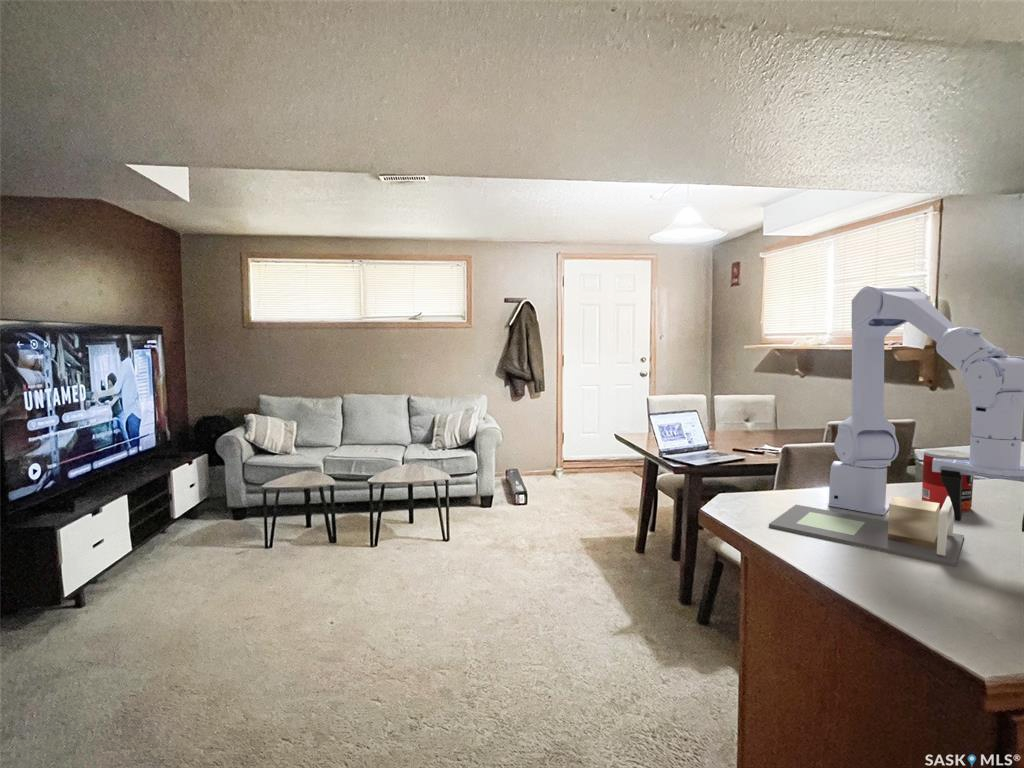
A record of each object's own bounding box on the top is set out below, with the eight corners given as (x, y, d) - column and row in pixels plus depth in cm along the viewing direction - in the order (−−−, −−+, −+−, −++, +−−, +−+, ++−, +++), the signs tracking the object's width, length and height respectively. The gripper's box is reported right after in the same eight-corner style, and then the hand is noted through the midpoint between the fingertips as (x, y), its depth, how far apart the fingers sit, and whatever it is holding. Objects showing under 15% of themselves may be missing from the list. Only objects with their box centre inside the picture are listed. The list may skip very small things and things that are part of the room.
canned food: (960, 515, 102) (963, 458, 101) (913, 504, 109) (915, 451, 108) (979, 509, 106) (982, 454, 105) (932, 499, 113) (935, 448, 112)
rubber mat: (768, 527, 96) (768, 523, 96) (795, 507, 108) (795, 504, 108) (955, 567, 78) (955, 563, 78) (963, 538, 90) (963, 535, 90)
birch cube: (887, 539, 88) (889, 503, 87) (893, 530, 92) (895, 496, 92) (933, 548, 84) (935, 511, 83) (937, 538, 88) (939, 503, 88)
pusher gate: (936, 554, 81) (938, 513, 80) (945, 532, 90) (947, 496, 90) (945, 555, 80) (947, 515, 80) (953, 533, 89) (954, 497, 89)
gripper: (931, 434, 82) (927, 520, 83) (1066, 446, 72) (1059, 543, 73) (936, 429, 87) (932, 510, 88) (1063, 439, 77) (1057, 530, 78)
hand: (990, 524), depth 81 cm, fingers open, 7 cm apart
